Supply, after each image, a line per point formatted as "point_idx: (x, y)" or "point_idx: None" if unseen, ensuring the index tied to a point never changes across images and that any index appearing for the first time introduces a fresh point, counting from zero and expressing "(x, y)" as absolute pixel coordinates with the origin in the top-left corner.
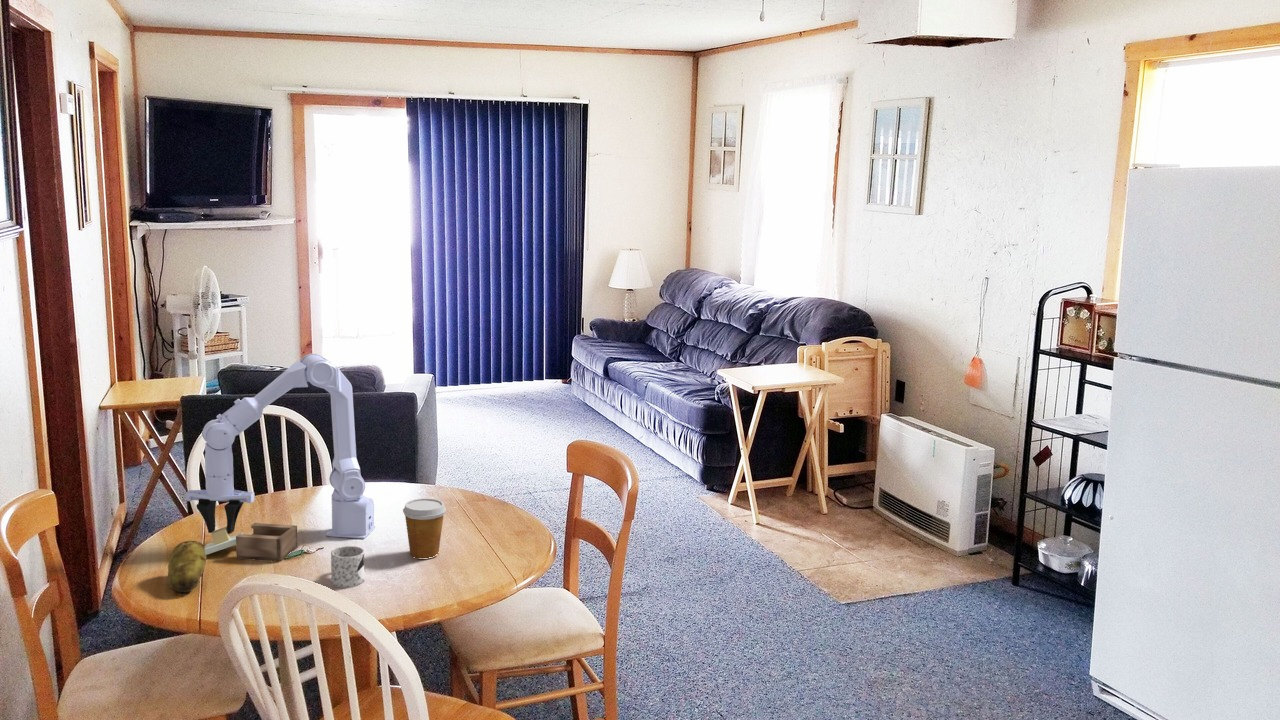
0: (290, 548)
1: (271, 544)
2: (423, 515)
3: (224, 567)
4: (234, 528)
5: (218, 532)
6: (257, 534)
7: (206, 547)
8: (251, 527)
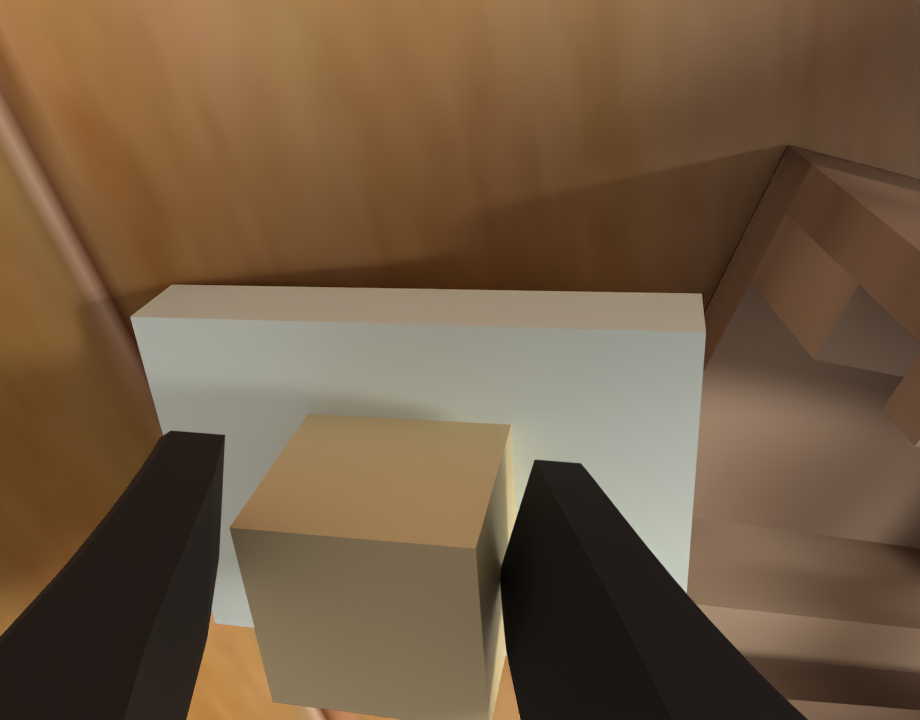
0: None
1: None
2: None
3: (504, 690)
4: (601, 489)
5: (385, 703)
6: (915, 339)
7: (223, 540)
8: (895, 419)
